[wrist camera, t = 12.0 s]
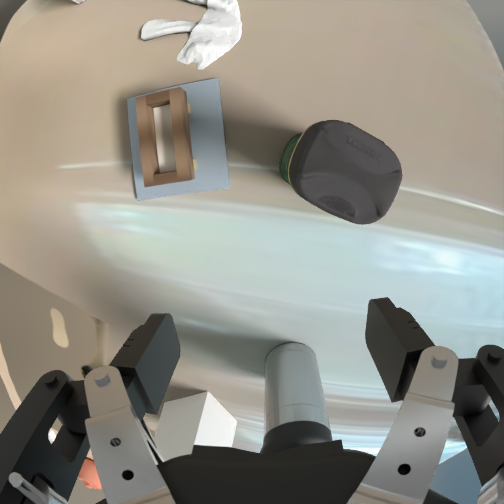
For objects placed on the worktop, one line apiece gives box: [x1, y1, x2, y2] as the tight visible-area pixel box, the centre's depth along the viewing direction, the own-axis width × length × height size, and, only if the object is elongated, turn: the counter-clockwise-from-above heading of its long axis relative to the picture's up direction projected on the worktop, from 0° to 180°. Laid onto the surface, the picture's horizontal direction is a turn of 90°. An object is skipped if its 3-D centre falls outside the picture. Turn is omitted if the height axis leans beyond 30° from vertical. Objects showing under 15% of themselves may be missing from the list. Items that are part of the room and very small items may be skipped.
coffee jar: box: [280, 120, 402, 224], centre depth 28 cm, size 10×8×19 cm
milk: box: [154, 391, 237, 461], centre depth 42 cm, size 12×12×26 cm
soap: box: [48, 429, 56, 442], centre depth 69 cm, size 9×7×3 cm
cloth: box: [141, 0, 242, 69], centre depth 29 cm, size 20×22×2 cm
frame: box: [136, 87, 195, 187], centre depth 32 cm, size 12×6×3 cm, turn 6°
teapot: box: [78, 459, 102, 490], centre depth 68 cm, size 22×15×12 cm
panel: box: [127, 78, 230, 201], centre depth 35 cm, size 16×14×3 cm
